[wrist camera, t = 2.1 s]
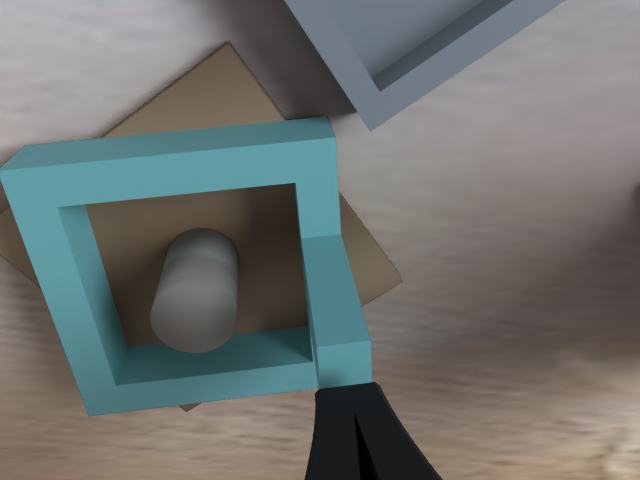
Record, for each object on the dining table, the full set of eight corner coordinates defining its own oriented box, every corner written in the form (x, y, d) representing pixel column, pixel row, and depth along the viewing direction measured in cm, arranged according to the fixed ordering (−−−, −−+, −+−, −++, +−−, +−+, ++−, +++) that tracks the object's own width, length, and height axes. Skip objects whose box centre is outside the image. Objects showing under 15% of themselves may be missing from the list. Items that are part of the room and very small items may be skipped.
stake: (398, 273, 21) (427, 342, 17) (187, 401, 23) (175, 486, 19) (228, 40, 16) (221, 70, 13) (-16, 224, 18) (-80, 294, 15)
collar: (102, 376, 21) (39, 559, 15) (24, 145, 17) (-111, 271, 10) (342, 347, 21) (376, 513, 15) (327, 116, 17) (367, 219, 11)
